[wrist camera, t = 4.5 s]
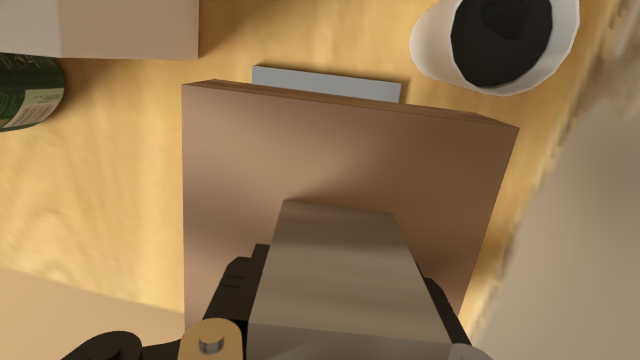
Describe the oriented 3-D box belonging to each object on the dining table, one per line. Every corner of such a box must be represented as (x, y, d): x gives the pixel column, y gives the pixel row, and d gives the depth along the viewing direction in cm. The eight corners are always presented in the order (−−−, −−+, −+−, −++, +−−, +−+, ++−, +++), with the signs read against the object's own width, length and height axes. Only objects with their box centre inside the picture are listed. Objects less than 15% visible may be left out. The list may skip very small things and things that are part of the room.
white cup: (403, -2, 26) (450, -39, 16) (491, -10, 25) (591, -53, 16) (403, 88, 28) (444, 102, 18) (484, 81, 27) (569, 91, 18)
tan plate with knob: (214, 78, 14) (24, 110, 5) (474, 112, 14) (723, 197, 5) (210, 296, 18) (96, 536, 9) (417, 318, 18) (509, 569, 9)
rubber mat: (254, 65, 27) (252, 65, 26) (399, 83, 28) (401, 83, 27) (247, 219, 32) (245, 223, 31) (371, 232, 32) (372, 236, 31)
